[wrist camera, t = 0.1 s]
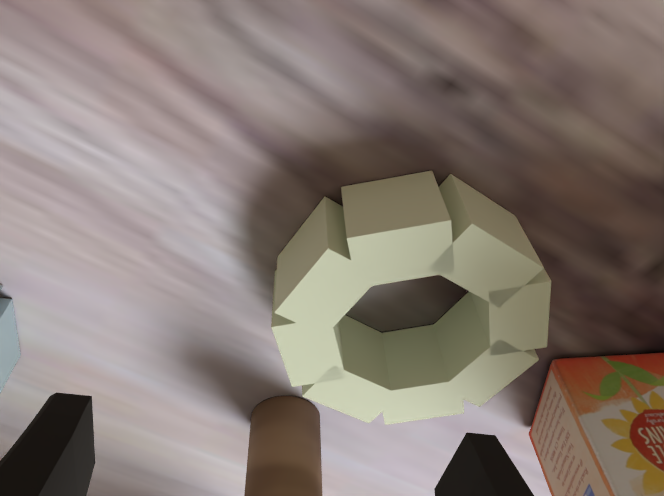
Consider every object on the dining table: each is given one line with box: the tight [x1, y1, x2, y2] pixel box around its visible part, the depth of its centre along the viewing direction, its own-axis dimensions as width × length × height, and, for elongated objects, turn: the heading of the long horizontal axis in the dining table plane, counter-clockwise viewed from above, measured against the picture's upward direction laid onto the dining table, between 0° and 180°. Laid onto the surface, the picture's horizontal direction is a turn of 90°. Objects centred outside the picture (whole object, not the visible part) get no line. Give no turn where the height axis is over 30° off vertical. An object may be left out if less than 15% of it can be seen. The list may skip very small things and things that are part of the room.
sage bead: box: [271, 171, 551, 425], centre depth 21 cm, size 9×9×3 cm
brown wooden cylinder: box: [245, 396, 322, 496], centre depth 24 cm, size 3×3×7 cm
